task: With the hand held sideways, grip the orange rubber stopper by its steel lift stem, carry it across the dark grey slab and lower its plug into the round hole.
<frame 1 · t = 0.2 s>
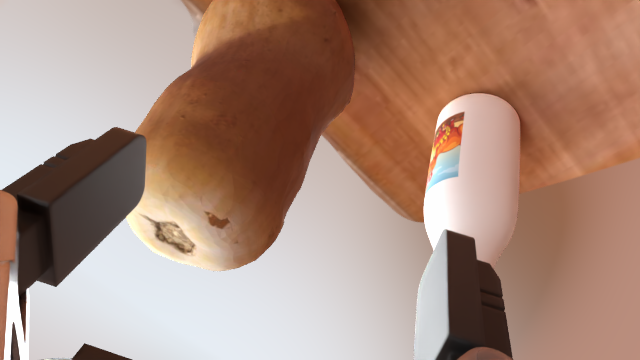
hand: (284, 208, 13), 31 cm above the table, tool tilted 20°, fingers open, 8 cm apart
butternut squash: (302, 16, 45), on the table
milk bottle: (478, 120, 49), on the table
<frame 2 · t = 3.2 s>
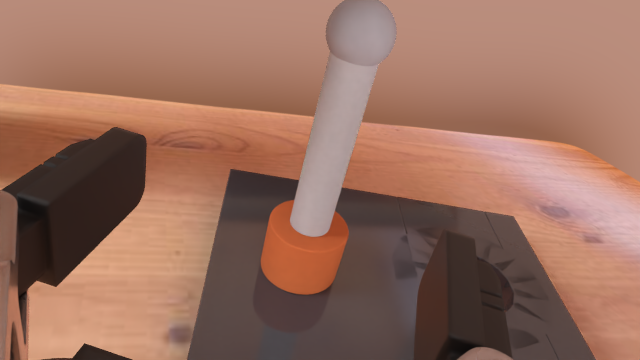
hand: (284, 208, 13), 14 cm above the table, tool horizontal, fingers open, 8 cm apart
dark grey slab: (383, 296, 32), on the table
stopper: (298, 266, 29), point 2 cm above the table, touching dark grey slab
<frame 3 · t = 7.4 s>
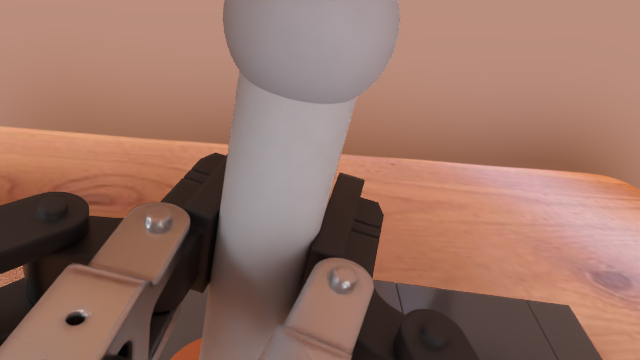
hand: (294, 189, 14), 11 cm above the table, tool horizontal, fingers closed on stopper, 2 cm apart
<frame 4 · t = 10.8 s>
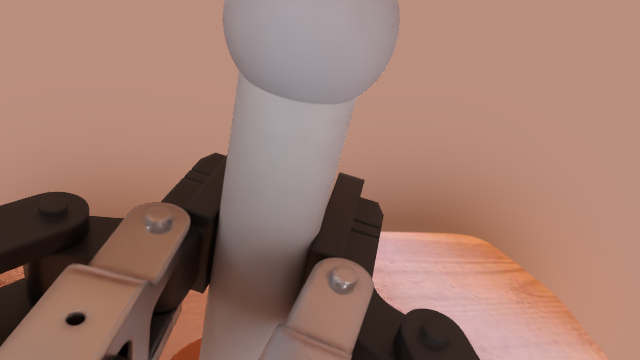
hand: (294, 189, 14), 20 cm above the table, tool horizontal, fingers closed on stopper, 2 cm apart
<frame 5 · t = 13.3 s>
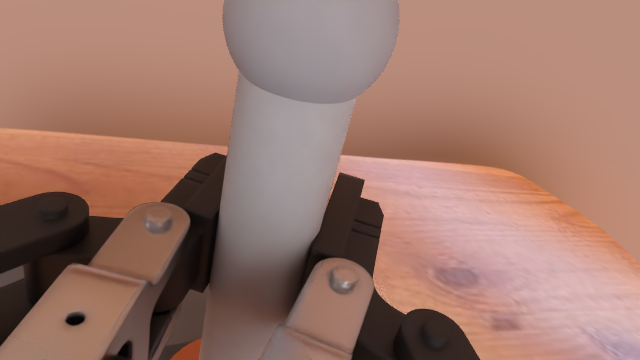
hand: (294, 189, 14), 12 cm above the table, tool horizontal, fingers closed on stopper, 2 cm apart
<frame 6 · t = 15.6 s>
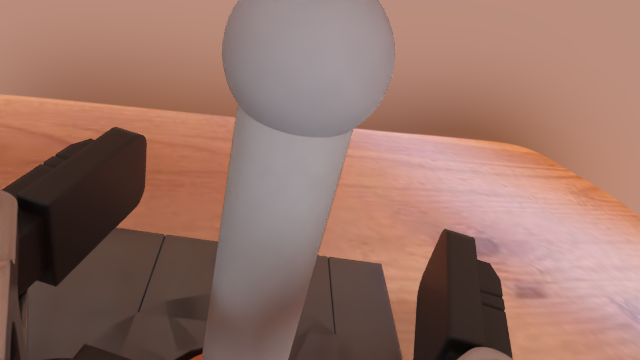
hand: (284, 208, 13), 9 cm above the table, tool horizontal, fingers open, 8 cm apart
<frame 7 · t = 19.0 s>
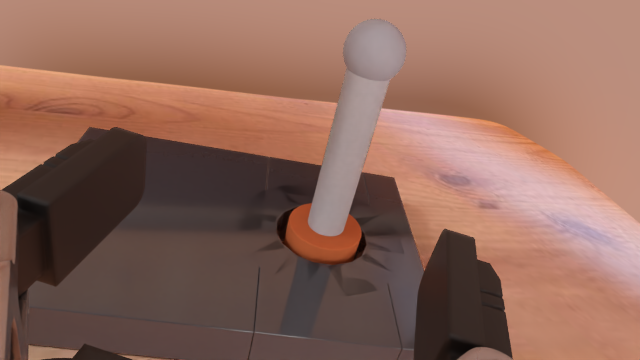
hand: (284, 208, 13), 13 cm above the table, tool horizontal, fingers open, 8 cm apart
dark grey slab: (233, 252, 30), on the table
stopper: (314, 264, 31), resting in dark grey slab
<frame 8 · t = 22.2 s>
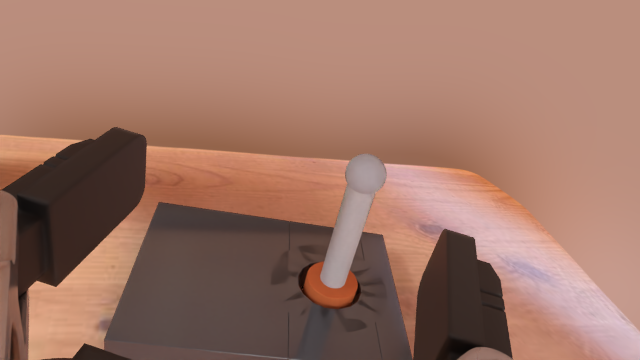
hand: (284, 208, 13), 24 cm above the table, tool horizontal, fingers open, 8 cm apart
dark grey slab: (266, 297, 43), on the table
stopper: (324, 305, 43), resting in dark grey slab
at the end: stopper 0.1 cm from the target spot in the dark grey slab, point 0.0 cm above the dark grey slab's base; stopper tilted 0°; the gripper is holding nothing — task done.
